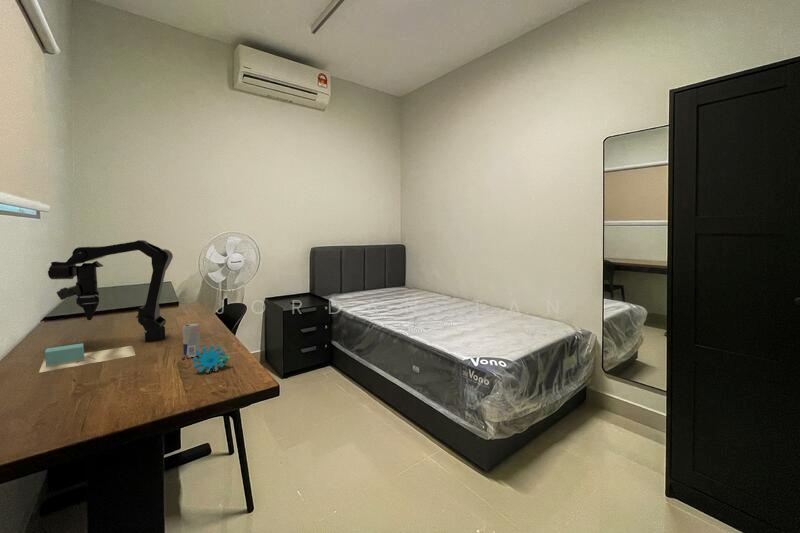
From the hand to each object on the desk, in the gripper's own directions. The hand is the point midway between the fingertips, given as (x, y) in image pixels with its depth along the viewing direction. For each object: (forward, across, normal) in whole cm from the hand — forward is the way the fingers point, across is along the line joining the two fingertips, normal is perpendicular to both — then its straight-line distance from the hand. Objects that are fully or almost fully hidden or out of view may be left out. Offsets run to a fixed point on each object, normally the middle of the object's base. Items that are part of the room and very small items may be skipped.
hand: (89, 317), depth 131 cm
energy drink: (+12, +36, +28) cm, 47 cm away
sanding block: (+11, +19, -6) cm, 23 cm away
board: (+12, +19, 0) cm, 22 cm away
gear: (+12, +55, +30) cm, 64 cm away
